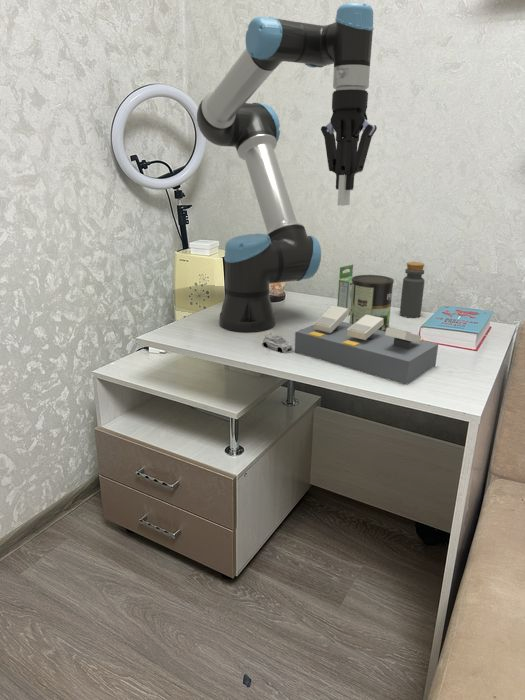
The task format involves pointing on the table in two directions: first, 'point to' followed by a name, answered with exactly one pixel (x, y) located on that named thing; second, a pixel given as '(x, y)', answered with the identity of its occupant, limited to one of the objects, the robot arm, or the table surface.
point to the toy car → (277, 343)
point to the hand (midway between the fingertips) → (343, 204)
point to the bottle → (412, 290)
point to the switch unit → (369, 352)
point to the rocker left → (331, 319)
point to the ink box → (345, 288)
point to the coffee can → (371, 298)
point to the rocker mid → (365, 327)
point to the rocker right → (402, 335)
